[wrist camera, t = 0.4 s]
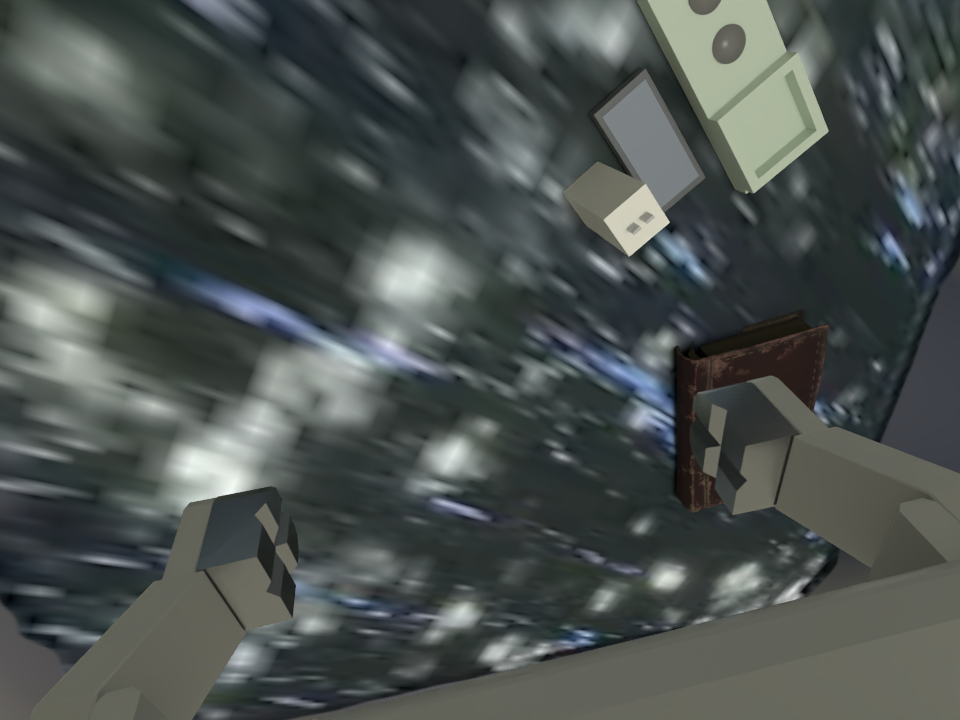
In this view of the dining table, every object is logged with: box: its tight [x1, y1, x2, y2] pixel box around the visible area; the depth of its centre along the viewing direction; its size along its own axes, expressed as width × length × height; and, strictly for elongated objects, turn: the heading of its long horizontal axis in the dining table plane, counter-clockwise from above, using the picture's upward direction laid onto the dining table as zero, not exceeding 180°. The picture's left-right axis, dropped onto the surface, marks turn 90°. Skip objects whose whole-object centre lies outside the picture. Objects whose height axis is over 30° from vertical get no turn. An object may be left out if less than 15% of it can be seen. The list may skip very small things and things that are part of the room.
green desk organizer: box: [637, 0, 829, 194], centre depth 55 cm, size 22×9×4 cm, turn 39°
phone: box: [589, 68, 705, 212], centre depth 57 cm, size 13×6×1 cm, turn 39°
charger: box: [562, 161, 670, 256], centre depth 54 cm, size 4×4×11 cm
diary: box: [676, 309, 829, 512], centre depth 77 cm, size 19×25×5 cm
